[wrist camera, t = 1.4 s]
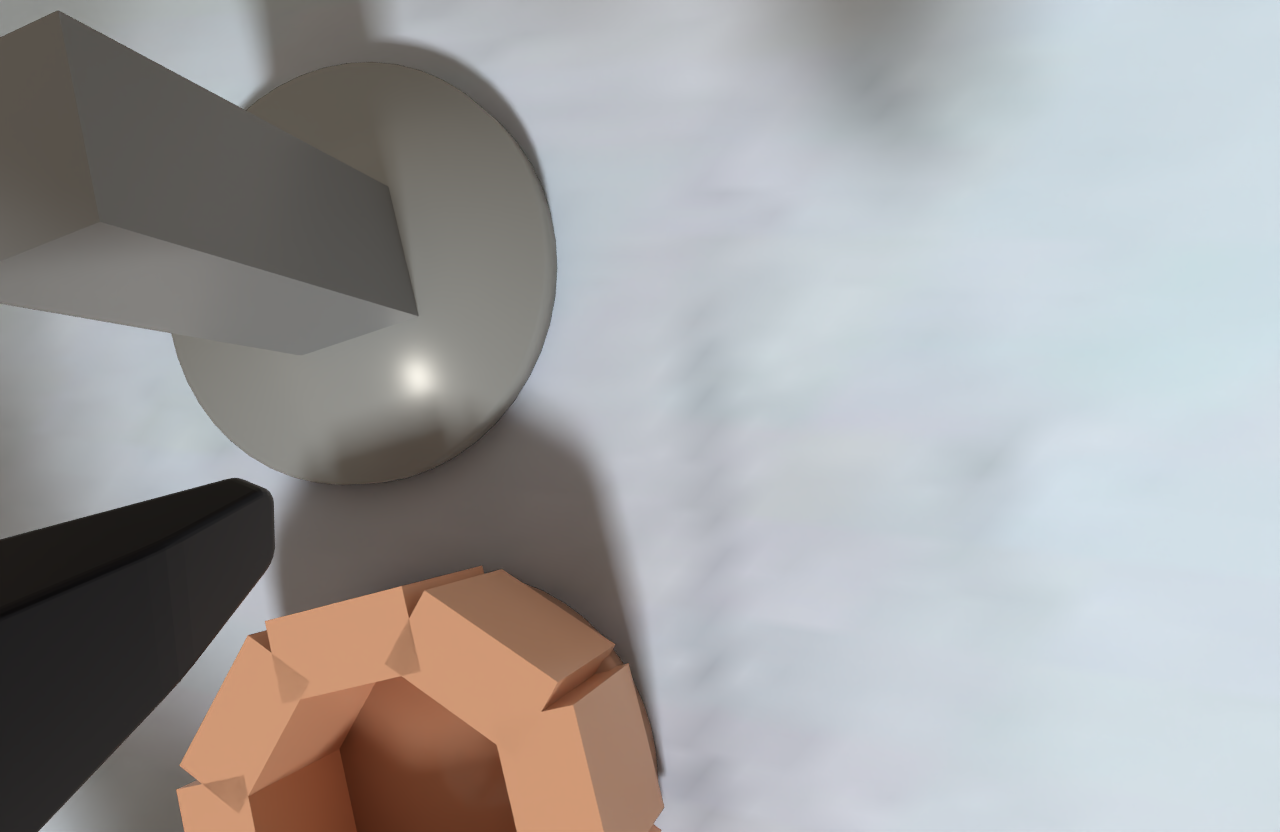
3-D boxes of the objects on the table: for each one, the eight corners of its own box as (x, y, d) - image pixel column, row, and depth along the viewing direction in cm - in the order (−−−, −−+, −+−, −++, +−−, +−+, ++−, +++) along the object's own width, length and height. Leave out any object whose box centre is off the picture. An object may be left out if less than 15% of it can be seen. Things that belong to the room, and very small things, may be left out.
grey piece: (236, 527, 26) (-208, 573, 16) (159, 156, 28) (-301, -33, 17) (604, 421, 24) (367, 390, 13) (501, 16, 25) (208, -310, 14)
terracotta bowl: (351, 983, 25) (235, 1095, 20) (275, 618, 26) (149, 651, 22) (702, 933, 22) (655, 1045, 18) (603, 534, 24) (536, 551, 19)
